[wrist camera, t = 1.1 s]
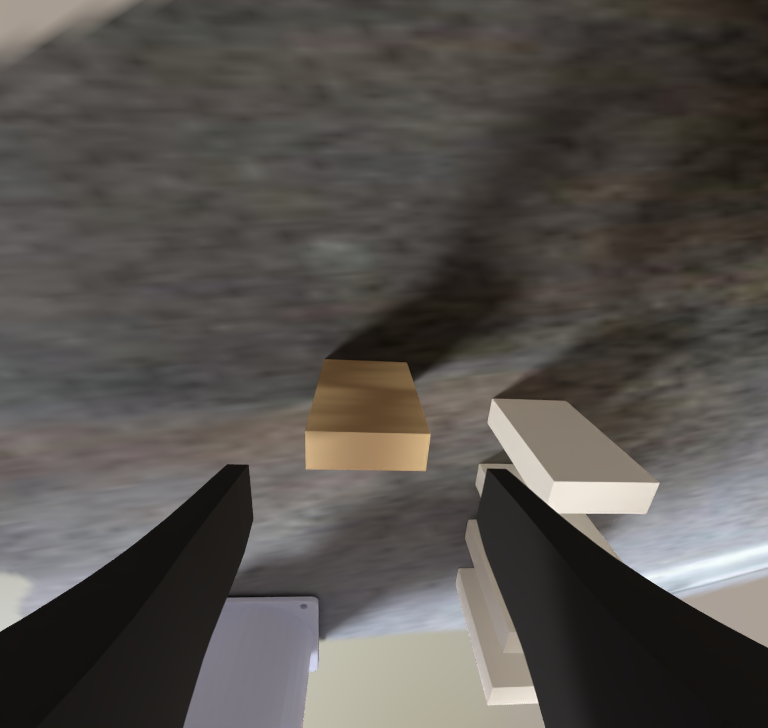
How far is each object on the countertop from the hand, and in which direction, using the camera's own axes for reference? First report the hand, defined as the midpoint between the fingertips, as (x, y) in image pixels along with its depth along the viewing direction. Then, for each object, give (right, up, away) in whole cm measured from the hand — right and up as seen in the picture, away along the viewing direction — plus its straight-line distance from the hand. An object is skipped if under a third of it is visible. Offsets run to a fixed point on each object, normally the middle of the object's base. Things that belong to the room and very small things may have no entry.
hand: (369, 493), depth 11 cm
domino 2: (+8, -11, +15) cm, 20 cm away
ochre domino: (-1, +3, +8) cm, 9 cm away
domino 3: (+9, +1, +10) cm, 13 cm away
